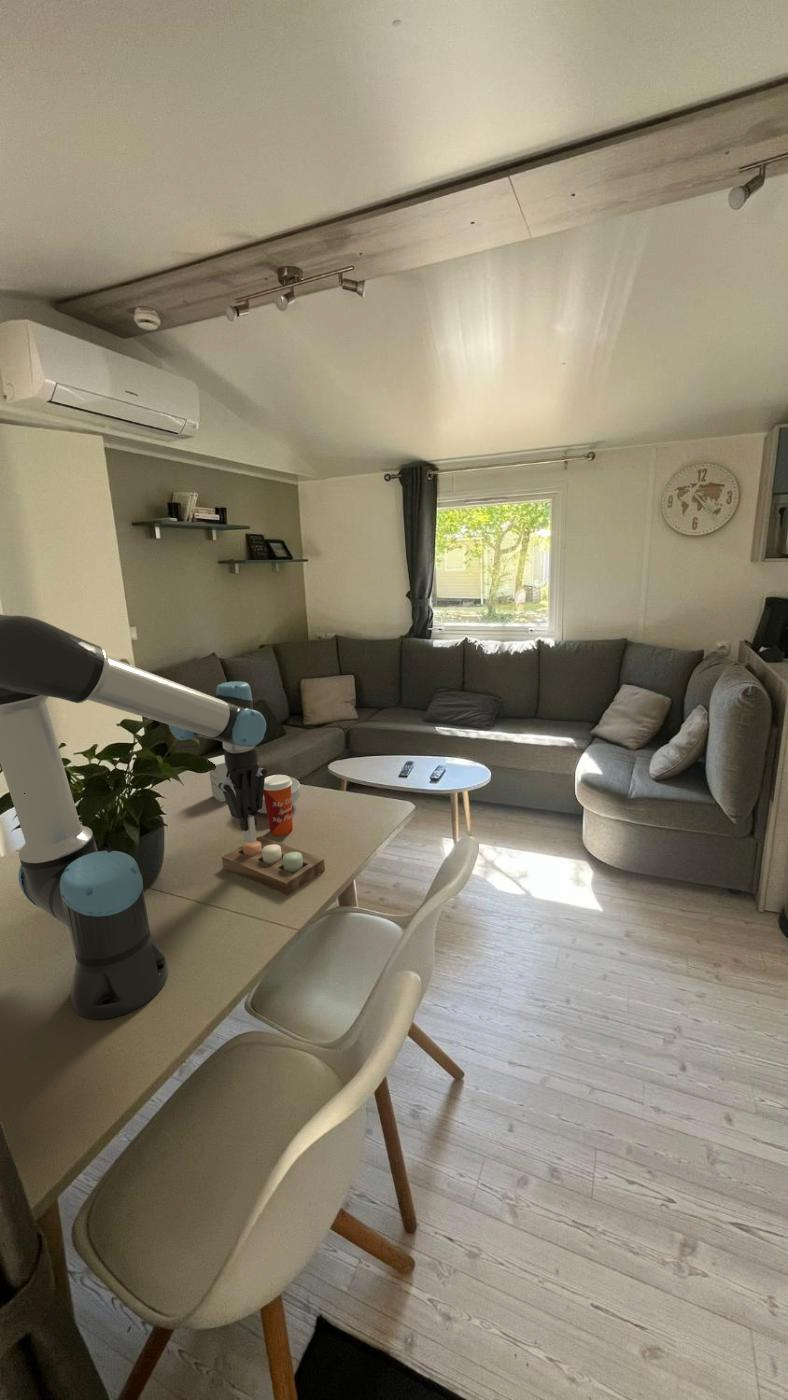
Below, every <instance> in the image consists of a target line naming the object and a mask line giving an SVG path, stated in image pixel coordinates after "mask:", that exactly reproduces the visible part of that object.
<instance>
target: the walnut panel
mask: <svg viewBox="0 0 788 1400" xmlns="http://www.w3.org/2000/svg"><path fill="white" fill-rule="evenodd" d="M256 840H257V841H259V842H261V847H262V849H263V848H264V847H265V846H268V845H273V844H275V845H279V846H280V847H281V854H282V860H280V861H278V862H277V863H275V864H273V865H269V864H267V863H264V862H263V856H262V852H260V853H258V854H257V855H255V856H253V857H249V856H246V855H244V854H243V845H241V846H238V848H236V849H234V850H232V851H230V852H228V853H226V854H224V855H223V856H221V860H222V865H223V869H225V870H228V871H230V872H231V873H234V874H236V875H239V876H241V877H244V878H246V879H248V880H250V881H253V882H255V883H258V884H260V885H262V886H264V887H267V888H270V889H271V890H273V891H276V892H278V893H281V894H283V895H285V896H289V895H291V894H292V893H294V892H295V891H297V890H298V889H299V888H301V887H302V886H304V885H305V883H306V884H307V883H308V882H310V881H312V880H313V879H314V878H316V877H317V876H319V875H320V874H321V872H322V871H323V872H324V870H326V867H325V859H324V858H323V857H319V856H316V855H314V854H311V853H309V852H306V851H303V850H300V849H299V848H298V849H297V848H294V847H292V846H289V845H286V844H283V843H280V842H278V841H276V840H275V841H274V840H272V839H269V838H266V837H263V836H258V837H256ZM290 852H299V853H301V854H302V860H303V868H302V869H300V870H299V871H297V872H295V873H294V874H292V873H290V872H287V871H285V870H284V866H283V856H284V855H285V854H287V853H290ZM323 872H322V873H323ZM319 873H320V874H319ZM318 874H319V875H318ZM315 876H316V877H315Z"/></svg>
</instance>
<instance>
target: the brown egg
mask: <svg viewBox="0 0 788 1400" xmlns="http://www.w3.org/2000/svg"><path fill="white" fill-rule="evenodd" d="M242 846H243V854H244V855H246V856H249V857H253V856H255V855H257V854H258V853H260V852H262V847H261V842H259V841H255V842H253V843H250V842H247V841H246V842H245V843H243V844H242Z"/></svg>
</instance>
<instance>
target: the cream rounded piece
mask: <svg viewBox="0 0 788 1400" xmlns="http://www.w3.org/2000/svg"><path fill="white" fill-rule="evenodd" d="M262 856H263V862H264V863H267V864H269V865H273V864H275V863H277V862H278V861H280V860H282V854H281V847H280V846H279V845H275V844H273V845H268V846H265V847H264V848H263V849H262Z"/></svg>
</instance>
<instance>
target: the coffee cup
mask: <svg viewBox="0 0 788 1400" xmlns="http://www.w3.org/2000/svg"><path fill="white" fill-rule="evenodd" d="M289 777H290V776H288V775H285V774H274V775H270V776H266V777H265V782H264V793H263V794H264V800H265V806H266V811H267V814H266V817H267V822H268V827H269V832H270V834H271V835H272V836H275V837H283V836H287V835H289V834H291V833H292V832H293V805H292V794H291V785H292V781H291V780H290V778H289Z"/></svg>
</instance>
